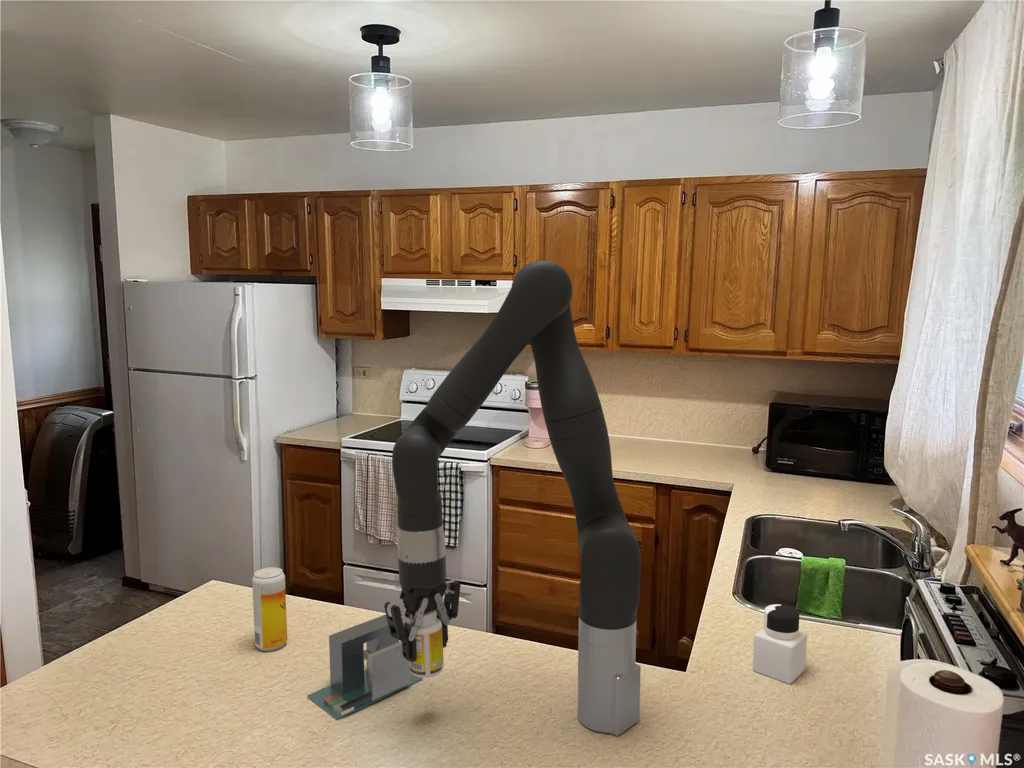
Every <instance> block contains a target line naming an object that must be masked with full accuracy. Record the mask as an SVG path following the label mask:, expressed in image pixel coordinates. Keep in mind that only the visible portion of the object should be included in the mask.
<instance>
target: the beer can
mask: <svg viewBox="0 0 1024 768" xmlns="http://www.w3.org/2000/svg"><path fill="white" fill-rule="evenodd" d="M251 581H252V607H253V632H254V645H255V646H256V647H257V648H258V650H260V651H261V652H273V651H277V650H280V649H282V648H283V647H284V646H285V644H286V643H287V641H288V626H287V623H288V621H287V619H288V618H287V599H286V597H287V596H286V575H285V573H284V572H283V569H282V568H280V567H275V566H274V567H273V566H271V567H270V566H269V567H263V568H261V569H258V570H256V571H255V572H254V573H253V576H252V578H251Z"/></svg>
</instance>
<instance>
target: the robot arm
mask: <svg viewBox="0 0 1024 768" xmlns="http://www.w3.org/2000/svg"><path fill="white" fill-rule="evenodd" d="M572 296H573V283H572V280H571V277H570V276H569V274H568V272H567V271H566V270H565V268H564V267H563V266H561V265H560V264H558V263H557V262H554V261H551V260H545V259H543V260H539V259H538V260H535V261H531V262H529V263H527V264H525V265H524V266H522V267H521V268H520V269H519V270H518V271H517V273H515V276H514V277H513V280H512V283H511V288H510V290H509V291H508V294H507V295H506V297H505V298H504V301H503V303H502V305H501V307H500V308H499V310H498V311H497V313H496V315H495V317H494V318H493V319H492V320H491V322H490V323H489V325H488V327H486V329H485V330H484V332H483V333H482V334H481V335H480V337H478V339H477V340H476V341H475V343H474V344H472V346H471V347H470V348H469V349H468V350H467V352H466V353H465V354H464V355H463V356H462V357H461V358H460V360H459V361H458V362H457V363H456V364H455V366H454V367H453V368H452V369H451V370H450V371H449V373H448V374H447V375H446V377H444V379H443V381H442V382H441V383H440V384H439V386H438V387H437V388H436V390H435V391H434V393H433V394H432V395H431V397H430V398H429V400H428V402H427V404H426V405H425V407H424V408H423V409H422V410H421V412H420V413H418V415H417V416H416V417H415V418H414V419H413V421H412V422H411V423H410V424H409V425H408V426H407V428H406V429H405V430H404V431H403V432H402V434H401V435H400V436H399V438H397V441H396V442H395V443H394V445H393V449H392V454H391V458H392V459H391V460H392V461H391V463H392V464H391V465H392V474H393V480H394V486H395V491H396V496H397V505H396V507H397V527H398V530H397V561H398V562H397V563H398V565H397V566H398V581H399V584H400V588H401V590H400V595H399V598H398V599H397V600H395V601H393V602H390V601H387V602H385V603H384V605H383V607H384V612H385V615H386V618H387V622H388V627H389V631H390V635H391V636H392V637H394V638H396V639H398V640H399V642H401V641H402V655H403V657H404V658H406V660H408V661H410V662H414V661H416V660H417V658H416V639H414V638H415V635H416V631H417V628H418V626H420V625H421V621H422V618H423V615H424V614H426V613H428V612H431V611H433V610H436V614H437V618H438V619H440V620H441V622H442V637H443V649H444V648H446V647H447V646H448V645H447V643H448V641H449V624H450V622H451V620H452V619H456V618H457V617H458V616H459V615H458V613H459V606H460V605H459V603H460V596H461V595H460V593H461V583H460V582H459V581H457V580H454V579H452V578H447V561H446V560H447V558H446V536H445V531H444V524H443V523H444V521H443V500H442V496H441V492H440V491H439V472H438V469H439V467H438V466H439V459H440V457H441V455H442V454H443V452H444V451H445V449H446V448H447V447H448V446H449V444H450V443H451V441H452V440H453V439H454V437H455V436H456V434H457V433H458V432H459V431H461V430H462V429H463V428H464V427H465V426H466V425H467V424H468V423H469V422H470V420H471V419H472V418H473V417H474V416H475V414H476V413H477V412H478V411H479V409H480V408H481V407H482V405H483V404H484V403H485V401H486V400H487V399H488V397H489V396H490V394H491V393H492V392H493V391H494V389H495V388H496V386H497V385H498V383H499V382H500V380H501V379H502V378H503V376H504V375H505V374H506V372H507V370H508V369H509V368H510V366H511V365H512V364H513V362H514V361H515V360H516V359H517V358H518V356H519V355H520V354H521V352H522V351H524V349H525V348H526V347H527V346H528V345H530V349H531V352H532V356H533V359H534V366H535V373H536V374H535V375H536V381H537V388H538V389H537V390H538V395H539V400H540V405H541V409H542V411H541V412H542V415H543V416H542V417H543V419H544V423H545V428H546V430H547V434H548V438H549V441H550V444H551V447H552V451H553V453H554V456H555V458H556V461H557V464H558V467H559V468H560V471H561V473H562V475H563V477H564V480H565V482H566V483H567V487H568V489H569V493H570V496H571V500H572V505H573V510H574V516H575V523H576V529H577V540H578V548H579V553H580V594H579V595H580V597H579V600H578V642H577V643H578V645H577V648H578V649H577V650H578V652H577V654H578V655H577V658H578V659H577V718H578V721H579V722H580V723H581V724H582V725H583V726H584V727H586V728H587V729H589V730H591V731H595V732H599V733H603V734H604V733H605V734H612V735H614V736H616V737H617V736H619V735H621V734H622V733H624V732H625V731H627V730H628V729H630V728H631V727H633V726H634V725H635V724H636V723H638V722H640V715H641V714H640V712H641V711H640V707H641V704H640V703H641V702H640V701H641V670H642V669H641V668H642V667H641V666H640V665H639V664H638V663H636V648H637V615H638V614H637V613H638V608H639V604H640V592H641V572H642V571H641V568H642V567H641V564H642V560H641V559H642V558H641V557H642V556H641V548H640V545H639V544H640V543H639V542H638V540H637V538H636V535H635V533H634V531H633V529H632V527H631V525H630V523H629V521H628V519H627V517H626V514H625V511H624V509H623V506H622V503H621V500H620V497H619V494H618V491H617V488H616V485H615V481H614V476H613V465H612V462H613V461H612V452H611V451H612V450H611V444H610V437H609V431H608V425H607V423H606V419H605V415H604V412H603V411H604V410H603V407H602V403H601V399H600V397H599V394H598V390H597V388H596V385H595V383H594V380H593V378H592V375H591V373H590V370H589V368H588V366H587V363H586V361H585V358H584V357H583V354H582V352H581V349H580V347H579V344H578V340H577V336H576V331H575V326H574V320H573V316H572V315H573V314H572V309H571V301H572ZM412 615H413V616H415V617H414V619H413V618H412ZM409 626H410V628H409ZM408 629H409V631H408Z"/></svg>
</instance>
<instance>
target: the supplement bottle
mask: <svg viewBox="0 0 1024 768" xmlns="http://www.w3.org/2000/svg"><path fill="white" fill-rule="evenodd" d="M414 617H415V616H413V615H411V618H413V619H414ZM409 628H410V626H409ZM408 631H409V629H408ZM414 639H416V658H417V660H416V661H414V662H410V661H409V667H410V672H411V673H412V674H413V675H414V676H416V677H420V678H422V679H423V678H424V679H426V678H432V677H436V676H437V675H439V674H441V672H443V669H444V667H445V666H444V665H445V663H444V662H445V661H444V648H443V637H442V622H441V620H440V619H438V618H437V614H436V610H433V611H431V612H428V613H426V614H424V615H423V618H422V621H421V625H420V626H418V628H417V631H416V635H415V638H414Z"/></svg>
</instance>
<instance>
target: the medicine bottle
mask: <svg viewBox="0 0 1024 768" xmlns="http://www.w3.org/2000/svg"><path fill="white" fill-rule="evenodd" d="M799 629H800V613H799V612H798V610H797V609H795V608H793V607H792V606H789V605H786V604H781V603H780V604H779V603H778V604H777V603H775V604H770V605H767V606H766V607H765V608H764V611H763V628H762V629H760V630H759V631H758V632H756V633H755V634H754V636H753V653H752V654H753V655H752V656H753V657H752V670H753V672H755V673H758V674H761V675H764V676H766V677H769V678H772V679H774V680H778V681H780V682H783V683H785V684H787V685H791V684H792V683H793V682H794V681H795V680H796V679H797V678H798V677H799V676H800V675H802V674H803V672H804V671H805V670H806V664H807V663H806V661H807V660H806V659H807V646H808V645H807V644H808V643H807V642H808V635H807V633H805V632H801V631H800V630H799Z"/></svg>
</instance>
